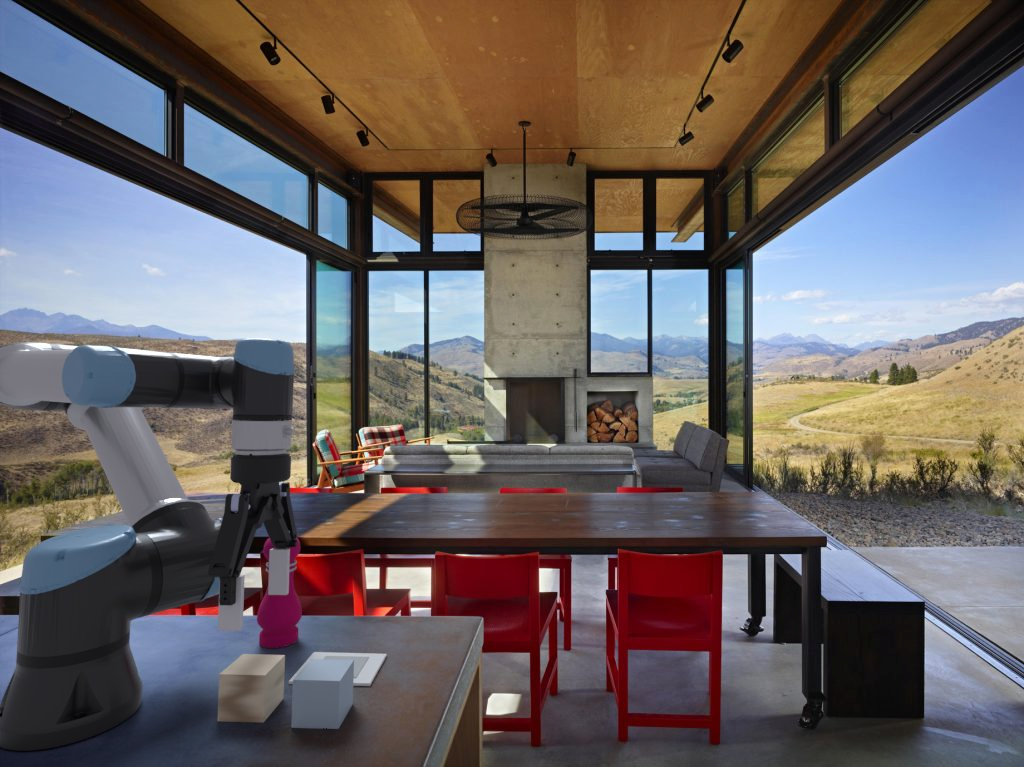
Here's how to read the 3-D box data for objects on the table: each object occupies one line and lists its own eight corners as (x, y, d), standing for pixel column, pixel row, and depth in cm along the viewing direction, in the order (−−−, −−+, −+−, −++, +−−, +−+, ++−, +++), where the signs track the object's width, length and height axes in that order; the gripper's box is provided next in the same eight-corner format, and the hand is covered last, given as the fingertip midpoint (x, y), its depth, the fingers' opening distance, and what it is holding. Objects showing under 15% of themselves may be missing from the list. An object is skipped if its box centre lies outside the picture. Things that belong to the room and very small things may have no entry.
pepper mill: (263, 653, 92) (268, 530, 93) (250, 639, 97) (254, 523, 98) (307, 642, 97) (311, 525, 98) (292, 629, 102) (296, 518, 103)
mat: (288, 684, 82) (288, 680, 82) (313, 654, 92) (314, 651, 92) (369, 686, 82) (370, 682, 82) (386, 656, 92) (386, 653, 92)
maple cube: (217, 721, 72) (219, 674, 72) (240, 697, 78) (242, 653, 78) (263, 723, 72) (265, 675, 72) (283, 699, 78) (285, 655, 78)
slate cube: (291, 728, 71) (292, 679, 71) (309, 703, 77) (310, 658, 77) (338, 729, 71) (339, 680, 71) (352, 704, 77) (354, 659, 77)
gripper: (243, 459, 64) (237, 649, 63) (321, 447, 89) (317, 582, 88) (179, 459, 64) (171, 648, 63) (274, 446, 89) (270, 582, 88)
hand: (256, 610), depth 76 cm, fingers open, 13 cm apart
